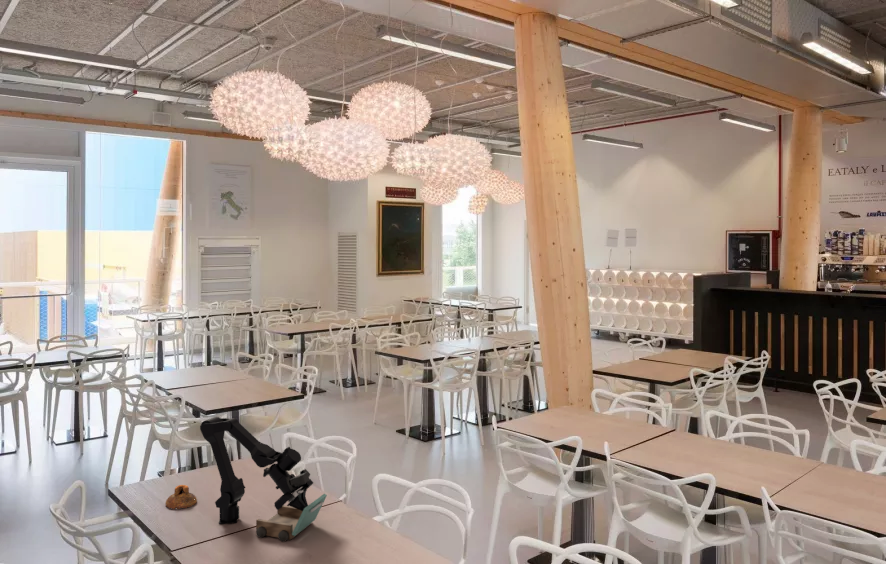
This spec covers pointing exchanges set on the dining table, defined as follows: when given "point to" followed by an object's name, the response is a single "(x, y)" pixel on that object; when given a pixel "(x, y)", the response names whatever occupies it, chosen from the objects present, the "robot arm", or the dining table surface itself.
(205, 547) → the dining table surface
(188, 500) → the bell
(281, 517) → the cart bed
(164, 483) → the dining table surface
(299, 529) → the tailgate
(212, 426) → the robot arm
